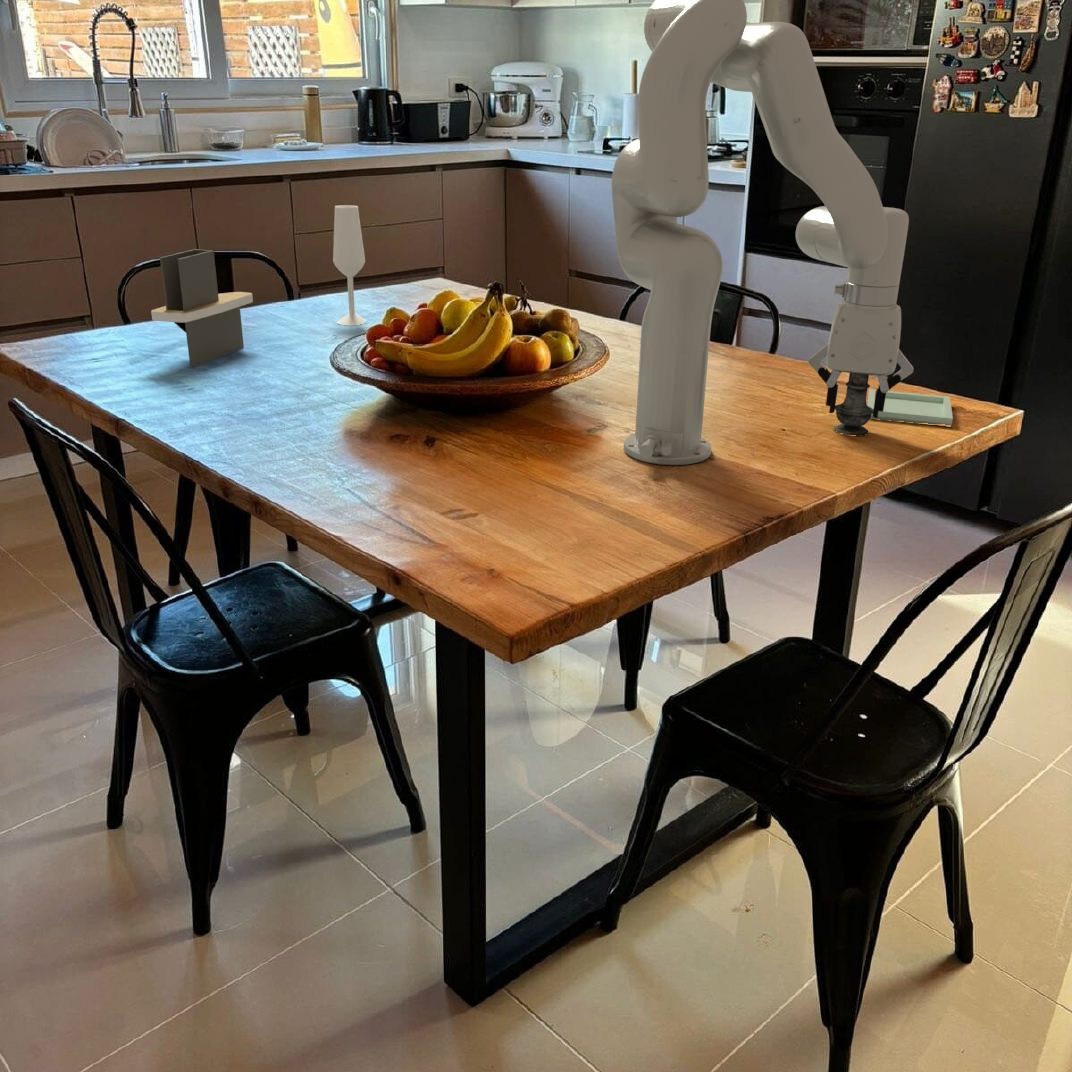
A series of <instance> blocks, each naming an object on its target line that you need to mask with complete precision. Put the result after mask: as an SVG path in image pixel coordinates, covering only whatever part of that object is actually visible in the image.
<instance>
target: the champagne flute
mask: <svg viewBox="0 0 1072 1072" xmlns="http://www.w3.org/2000/svg"><path fill="white" fill-rule="evenodd" d="M360 220H361V219H360V212H359V206H358V205H350V204H347V205H346V204H344V205H343V204H341V205H335V206H334V221H333V226H334V227H333V250H332V251H333V253H332V254H333V255H332V262H333V264H334V266H335V267H336V269H338V271H339V272H340V273H342V275H344V276H346V277H347V278H346V279H347V297H348V313H347V314H346V315H345V316H343V317H342V318H340V319H339V320H338V321H336V323H337V324H338V325H341V326H361V325H360V324H363V323H365V322H366V320H367V319H365V318H364V317H362V316H360V315H358V314H357V313H355V294H354V293H355V292H354V277H355V276H356V275H357V274H358V273H359V272H360V271H361V270H362V268H363V267H364V265H365V263H366V255H365V254H366V253H365V248H364V241H363V234H362V226H361V221H360ZM363 325H364V324H363Z"/></svg>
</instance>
